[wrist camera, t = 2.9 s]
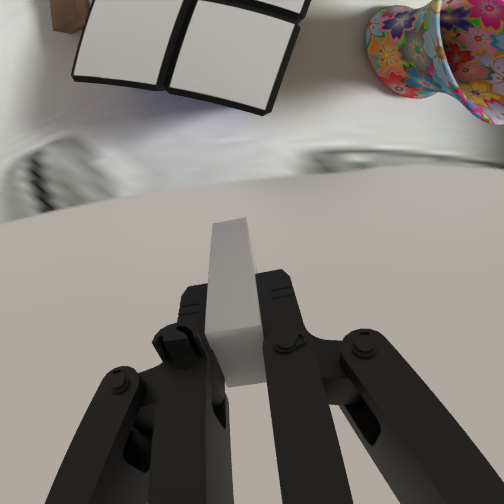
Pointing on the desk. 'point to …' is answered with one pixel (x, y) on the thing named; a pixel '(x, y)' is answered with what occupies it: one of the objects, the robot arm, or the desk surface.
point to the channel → (69, 15)
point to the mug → (443, 52)
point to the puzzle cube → (192, 48)
